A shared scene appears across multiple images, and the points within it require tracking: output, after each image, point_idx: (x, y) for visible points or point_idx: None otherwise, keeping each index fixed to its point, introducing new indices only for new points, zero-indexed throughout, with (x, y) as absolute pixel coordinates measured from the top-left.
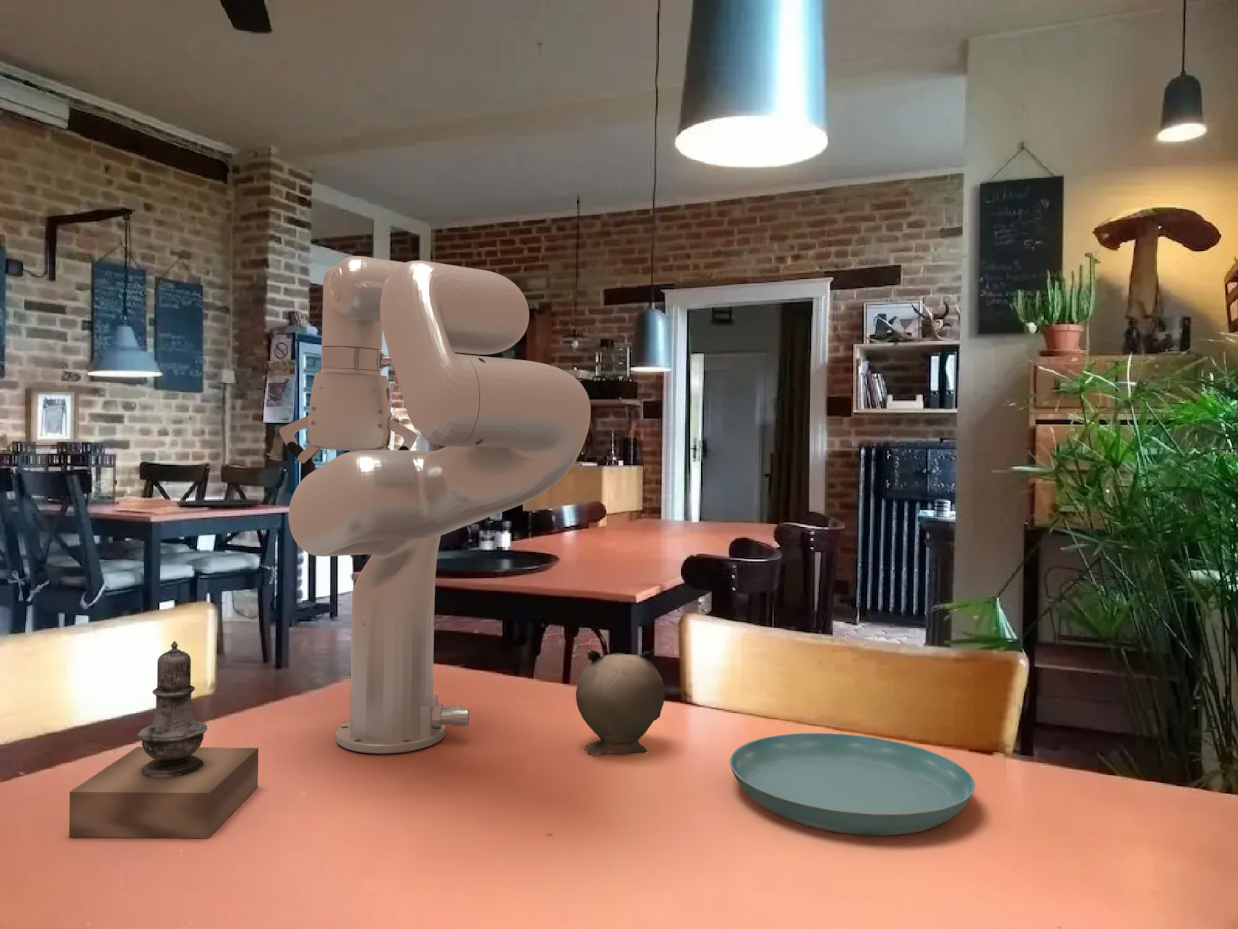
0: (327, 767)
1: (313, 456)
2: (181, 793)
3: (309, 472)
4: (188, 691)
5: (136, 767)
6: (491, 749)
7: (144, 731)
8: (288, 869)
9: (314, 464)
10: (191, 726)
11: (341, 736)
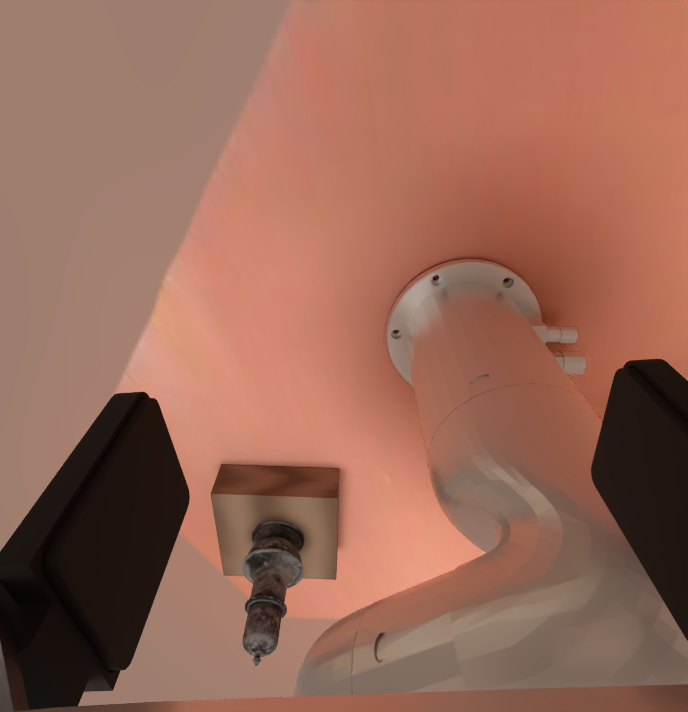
0: (395, 422)
1: (19, 667)
2: (313, 578)
3: (140, 615)
4: (284, 614)
5: (244, 536)
6: (594, 371)
7: (250, 578)
8: (410, 582)
9: (70, 578)
10: (292, 579)
11: (399, 370)
